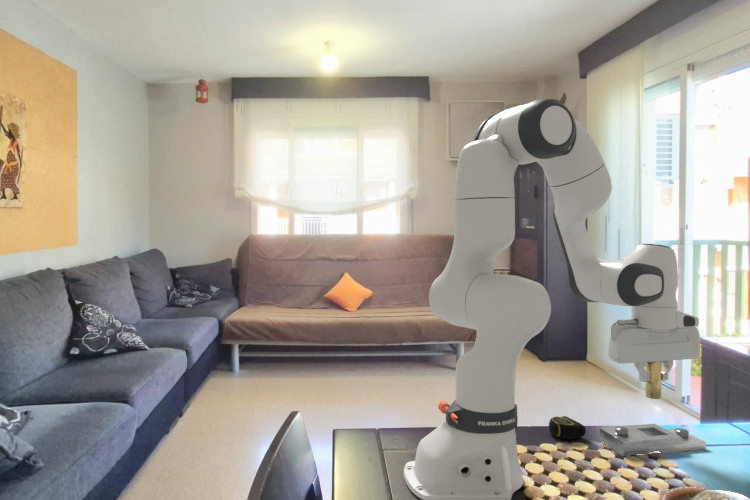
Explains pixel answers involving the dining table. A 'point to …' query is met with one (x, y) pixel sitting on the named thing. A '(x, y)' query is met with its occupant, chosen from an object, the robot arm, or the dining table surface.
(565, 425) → the tape measure
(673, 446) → the gray slab
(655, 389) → the pin
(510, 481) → the robot arm
